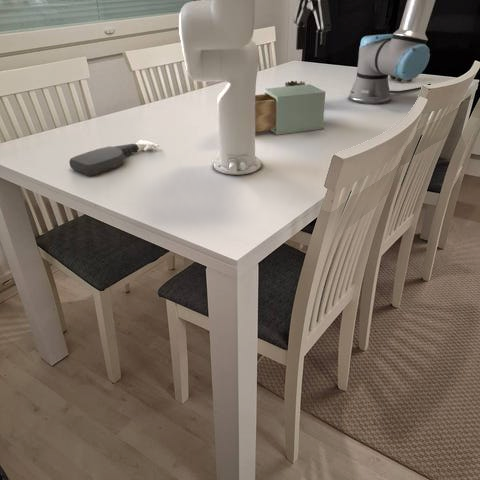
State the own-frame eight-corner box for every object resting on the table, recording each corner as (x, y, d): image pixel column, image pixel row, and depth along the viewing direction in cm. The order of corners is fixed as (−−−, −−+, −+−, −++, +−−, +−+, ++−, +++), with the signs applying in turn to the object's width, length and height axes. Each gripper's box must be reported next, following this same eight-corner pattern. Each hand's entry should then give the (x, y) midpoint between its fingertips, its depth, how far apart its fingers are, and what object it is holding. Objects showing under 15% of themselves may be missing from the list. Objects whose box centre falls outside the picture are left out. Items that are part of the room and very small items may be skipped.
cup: (281, 105, 168) (282, 83, 164) (288, 101, 173) (289, 79, 169) (299, 108, 165) (301, 85, 161) (306, 103, 170) (308, 81, 166)
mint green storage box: (276, 134, 141) (277, 97, 134) (264, 124, 149) (264, 88, 143) (322, 128, 145) (325, 91, 138) (307, 119, 154) (309, 84, 147)
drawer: (229, 137, 137) (228, 105, 131) (220, 127, 144) (219, 97, 139) (291, 129, 142) (292, 98, 137) (279, 120, 150) (280, 90, 145)
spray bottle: (67, 168, 120) (139, 144, 136) (91, 178, 114) (163, 151, 130) (65, 157, 118) (137, 134, 134) (89, 167, 112) (162, 142, 128)
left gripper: (256, 17, 119) (256, 87, 129) (239, 12, 131) (240, 77, 141) (229, 18, 117) (231, 90, 127) (214, 13, 129) (217, 79, 139)
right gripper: (349, -28, 116) (340, 58, 127) (307, -29, 136) (303, 45, 147) (323, -28, 114) (316, 60, 125) (284, -29, 134) (282, 47, 145)
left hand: (235, 83), depth 134 cm, fingers closed
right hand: (309, 52), depth 136 cm, fingers open, 13 cm apart
